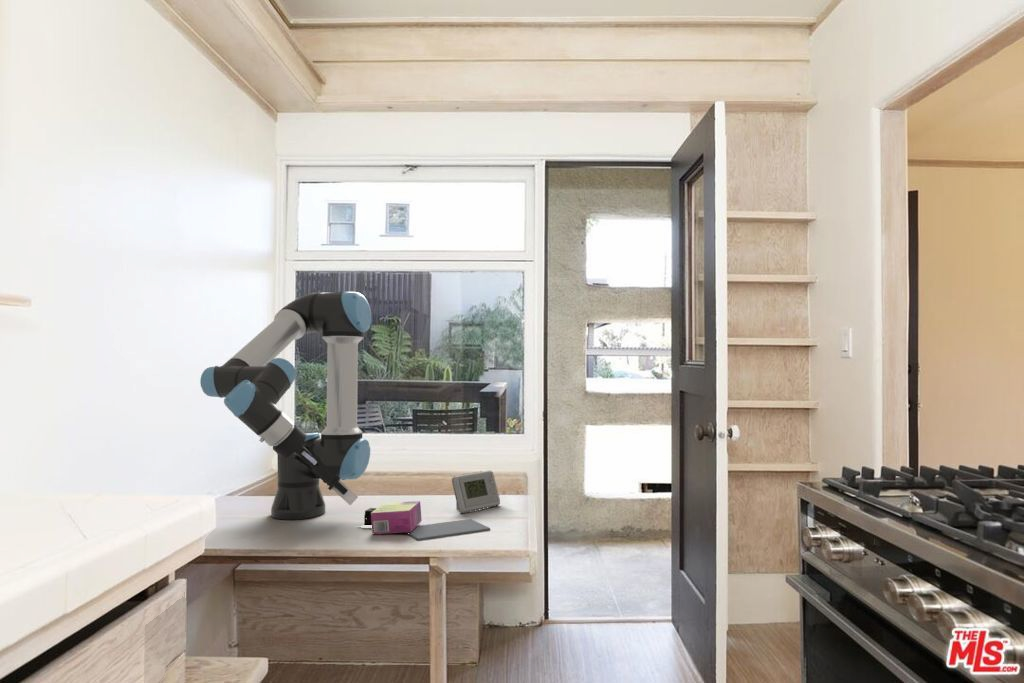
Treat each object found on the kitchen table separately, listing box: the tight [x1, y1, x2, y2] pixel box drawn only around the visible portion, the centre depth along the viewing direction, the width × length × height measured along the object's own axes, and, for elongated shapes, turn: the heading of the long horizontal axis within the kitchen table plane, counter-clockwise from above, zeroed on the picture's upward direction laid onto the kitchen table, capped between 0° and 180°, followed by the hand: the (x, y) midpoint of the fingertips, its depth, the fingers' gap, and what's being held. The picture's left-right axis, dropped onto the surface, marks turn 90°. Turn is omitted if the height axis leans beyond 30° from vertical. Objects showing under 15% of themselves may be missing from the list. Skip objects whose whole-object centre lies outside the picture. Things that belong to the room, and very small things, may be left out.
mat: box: [406, 518, 491, 541], centre depth 174 cm, size 12×20×1 cm, turn 119°
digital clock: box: [451, 469, 501, 514], centre depth 199 cm, size 16×9×11 cm, turn 123°
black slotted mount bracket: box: [363, 507, 378, 525], centre depth 181 cm, size 12×7×5 cm, turn 166°
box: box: [371, 500, 423, 535], centre depth 175 cm, size 10×6×12 cm
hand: (353, 500), depth 162 cm, fingers closed
